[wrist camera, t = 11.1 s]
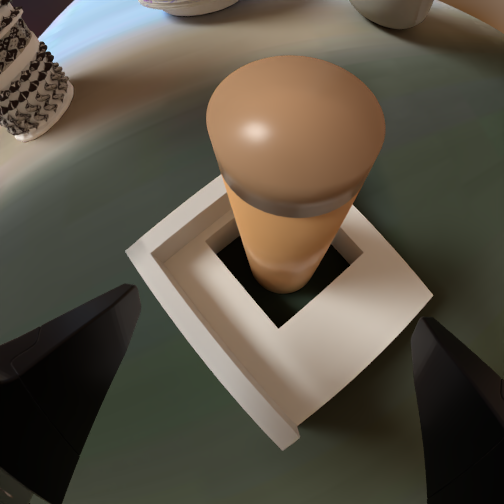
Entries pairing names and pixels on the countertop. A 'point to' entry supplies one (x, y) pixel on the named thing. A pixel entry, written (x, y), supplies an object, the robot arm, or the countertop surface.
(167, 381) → the countertop surface
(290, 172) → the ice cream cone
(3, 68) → the decorative candle
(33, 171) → the countertop surface
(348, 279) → the housing
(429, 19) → the countertop surface
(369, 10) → the light grey bottle
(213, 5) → the paper bowls
